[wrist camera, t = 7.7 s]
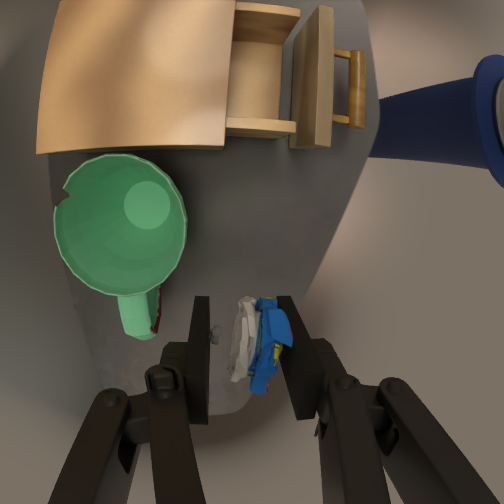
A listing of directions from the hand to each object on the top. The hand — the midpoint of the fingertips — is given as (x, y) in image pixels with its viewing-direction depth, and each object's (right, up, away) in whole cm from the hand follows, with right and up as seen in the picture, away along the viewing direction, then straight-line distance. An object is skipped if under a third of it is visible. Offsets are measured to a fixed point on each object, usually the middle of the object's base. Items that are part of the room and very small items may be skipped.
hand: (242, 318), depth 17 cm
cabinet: (-9, +19, +8) cm, 22 cm away
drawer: (+1, +19, +8) cm, 20 cm away
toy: (0, 0, 0) cm, 1 cm away
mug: (-9, +6, +12) cm, 17 cm away
